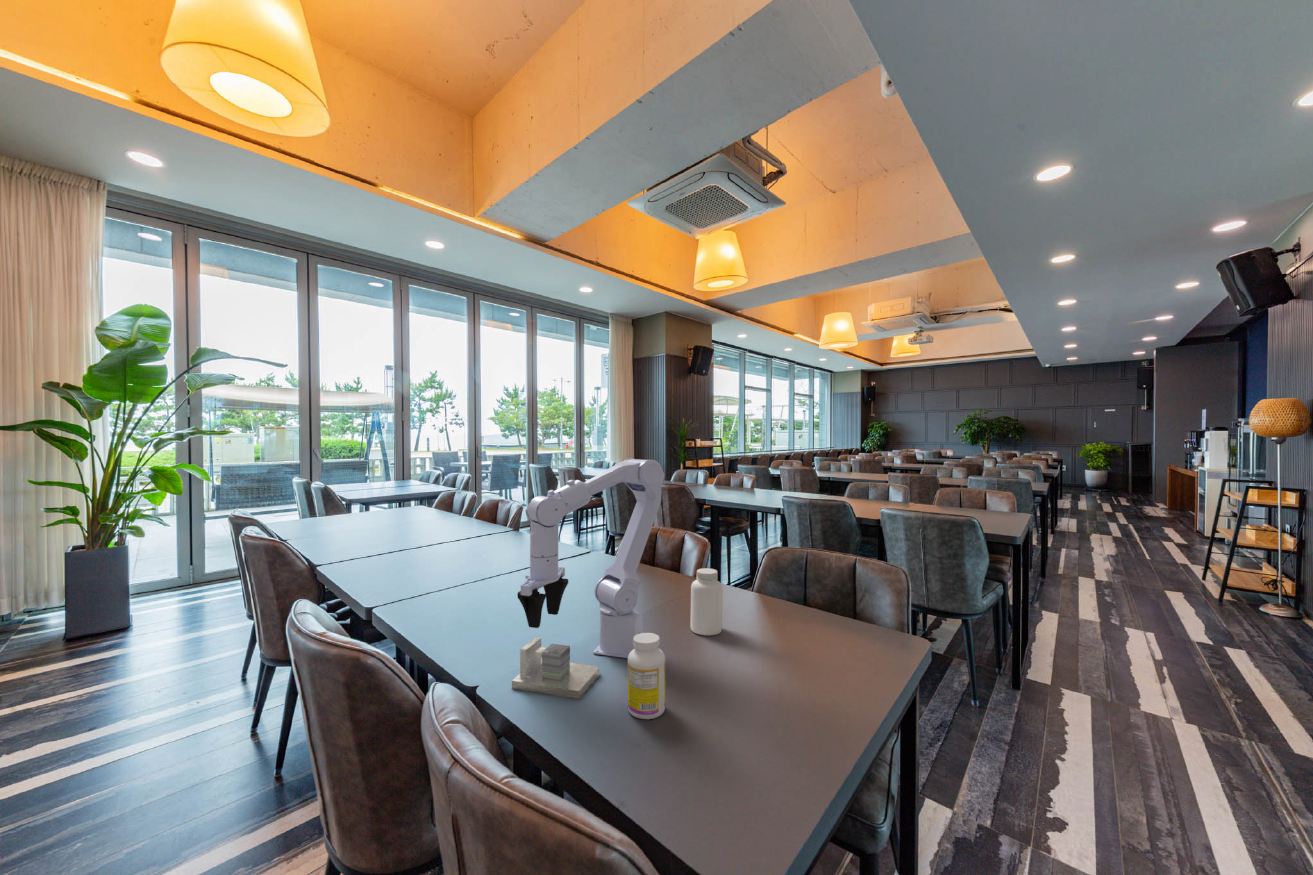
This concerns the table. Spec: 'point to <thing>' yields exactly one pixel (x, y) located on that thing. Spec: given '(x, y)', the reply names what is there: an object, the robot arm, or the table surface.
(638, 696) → the supplement bottle
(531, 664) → the stand frame
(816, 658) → the table surface
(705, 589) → the pill bottle
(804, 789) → the table surface
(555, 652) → the grey stacked block
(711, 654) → the table surface
